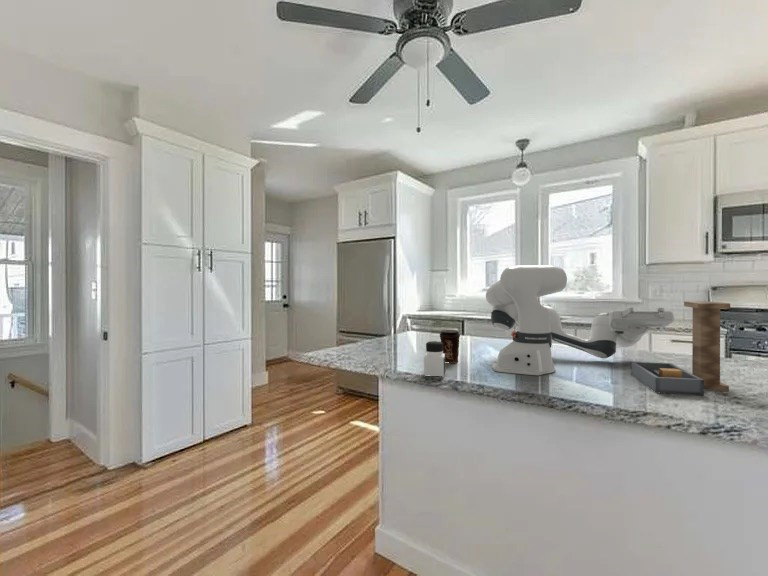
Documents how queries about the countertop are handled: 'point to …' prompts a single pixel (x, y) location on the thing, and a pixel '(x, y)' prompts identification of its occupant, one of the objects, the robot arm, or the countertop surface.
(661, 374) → the lock pin
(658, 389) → the tray
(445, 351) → the coffee cup
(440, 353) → the medicine bottle
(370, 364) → the countertop surface
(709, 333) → the pedestal
